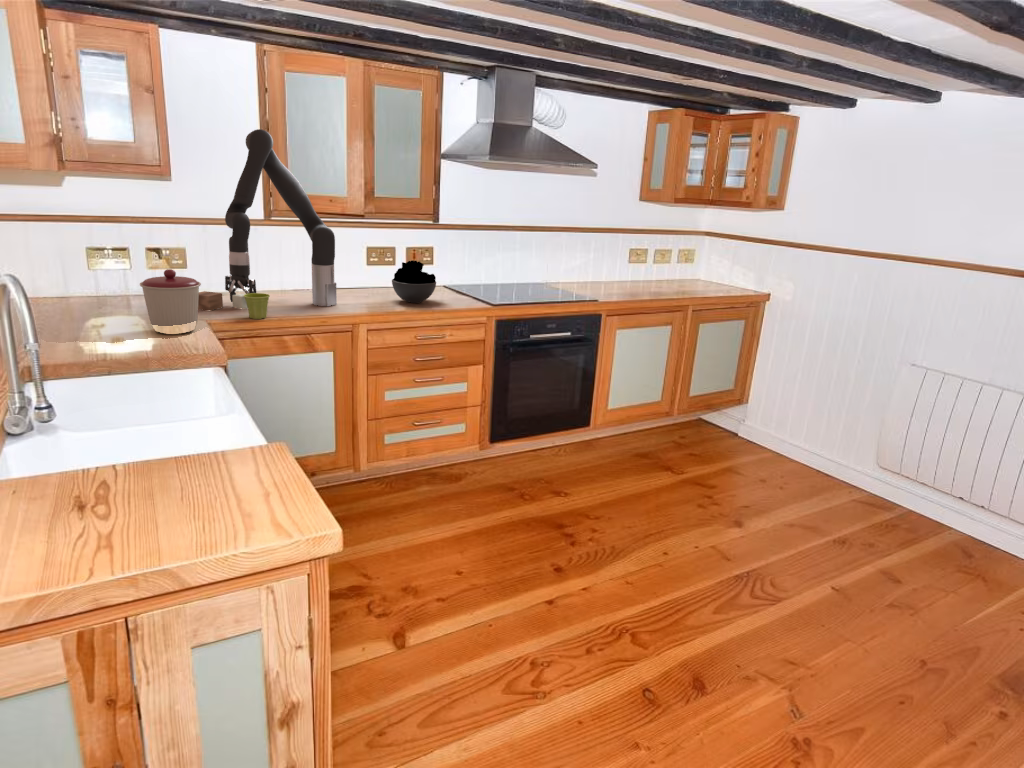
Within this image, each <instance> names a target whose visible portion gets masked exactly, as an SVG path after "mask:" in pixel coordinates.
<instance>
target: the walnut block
mask: <svg viewBox="0 0 1024 768" xmlns="http://www.w3.org/2000/svg"><path fill="white" fill-rule="evenodd" d="M223 303H224V301H223V293H222V292H214V291H207V290H204V291H199V299H198V309H203V310H202V311H205V310H212V311H214V310H213V309H216V310H218V309H217V308H220V309H222V308H221V307H223V308H224V304H223Z"/></svg>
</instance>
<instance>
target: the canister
mask: <svg viewBox="0 0 1024 768" xmlns="http://www.w3.org/2000/svg"><path fill="white" fill-rule="evenodd" d="M139 286H140V287H141V289H142V294H143V298H144V303H145V307H146V311H147V315H148V318H149V322H150V325H151V324H152V325H158V326H173V325H182V324H187V323H191V322H194V321H197V322H198V317H199V316H198V315H199V310H198V299H199V292H200V287H201V286H202V283H201V282H200V281H198V280H196V279H194V278H192V277H187V276H179V275H178V276H177V272H176V271H175V270H174V269H170V268H169V269H165V270H164V271H163V276H154V277H148V278H146V279H144V280H143V281H141V282H140V283H139Z"/></svg>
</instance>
